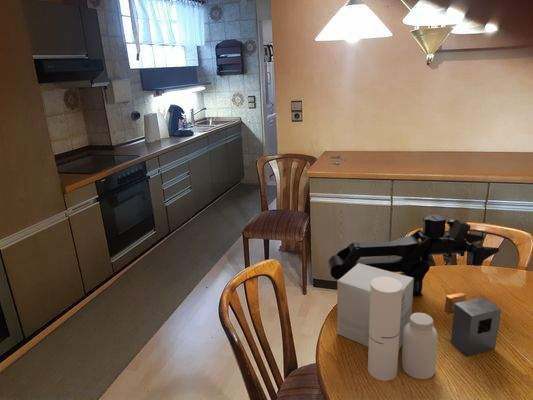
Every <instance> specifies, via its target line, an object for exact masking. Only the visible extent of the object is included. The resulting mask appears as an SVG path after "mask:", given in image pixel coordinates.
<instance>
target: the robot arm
mask: <svg viewBox="0 0 533 400" xmlns="http://www.w3.org/2000/svg"><path fill="white" fill-rule="evenodd" d="M446 225H447V226H448V227H449V228H448V230H447V233H446ZM471 228H472V227H471V225H470V224H469V223H467V221H465V220H461V219H459V218H453V219H448V220H447V217H446V216H445V215H443V214H438V213H430V215H427V216H426V217H425V216H423V217H422V229H418V230H417V231H415V232H414V233H412V234H411V235H406V236H403V237H399V238H397V239H396V240H390V241H388V240H387V241H368V242H367V241H366V242H357V241H354V242H351V243H349V245H348V246H347V247H345V248H343V249H341V250H339V251H338V252H337V253H336V254H335V255H332V256H331V257H330V258H329V259H328V260H327V266H328V270H329V274H330V276H331V277H332V278H333V279H334V280H336V281H338V280H339V279H340V278H341V277H343V276H344V275H345V274H346V273H347V272H349V271H350V270H351V269H352V268H353V267H355V266H356V265H357V264H358V263H360V264H364V265H368V266H371V267H375V268H378V269H382V270H386V271H390V272H393V273H399V272H400V273H399V274H401V275H404V276H408V277H412V278H414V281H413V297H423V293H422V291H423V286H424V285H423V283H424V278H425V276H426V274H427V273H428V272H429V270H430V263H429V262H430V258H431V257H430V256H445V255H446V256H447V258H452V255H459V256H460V257H465V253H466V252H467V256H466V257H467V258H466V260H468V261H469V262H470V263H471V264H472V265H473V266H474V267H482V266H483V263H484V261H485V260H487V259H488V258H490V257H492V256H493V255H495V254H497V253H498V252H500V248H499V247H493V246H491V247H490V246H484V245H482V244H481V243H480V241H484V239H485V236H484V235H480V234H475V233H471V232H469V231H470V230H471ZM391 256H392V257H391ZM393 256H395V257H393ZM368 257H369V258H368ZM370 257H371V258H370ZM372 257H377V258H372Z"/></svg>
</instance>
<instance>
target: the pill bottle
mask: <svg viewBox="0 0 533 400" xmlns="http://www.w3.org/2000/svg"><path fill="white" fill-rule="evenodd" d="M438 339H439V334H438V331H437V329H436V328H435V327H434V319H433V318H432V316H430V315H429V314H427V313H424V312H414V313H412V315H411V316H410V322H409V323H407V324H406V325H405V327H404V330H403V345H402V351H401V352H402V353H401V355H402V356H401V367H402V370H403V371H404V372H405V373H406V374H407V375H408V376H410V377H411V378H414V379H418V380H427V379H430V378H432V377H433V376H434V375H435V373H436V363H437V361H436V360H437V351H438Z"/></svg>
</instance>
